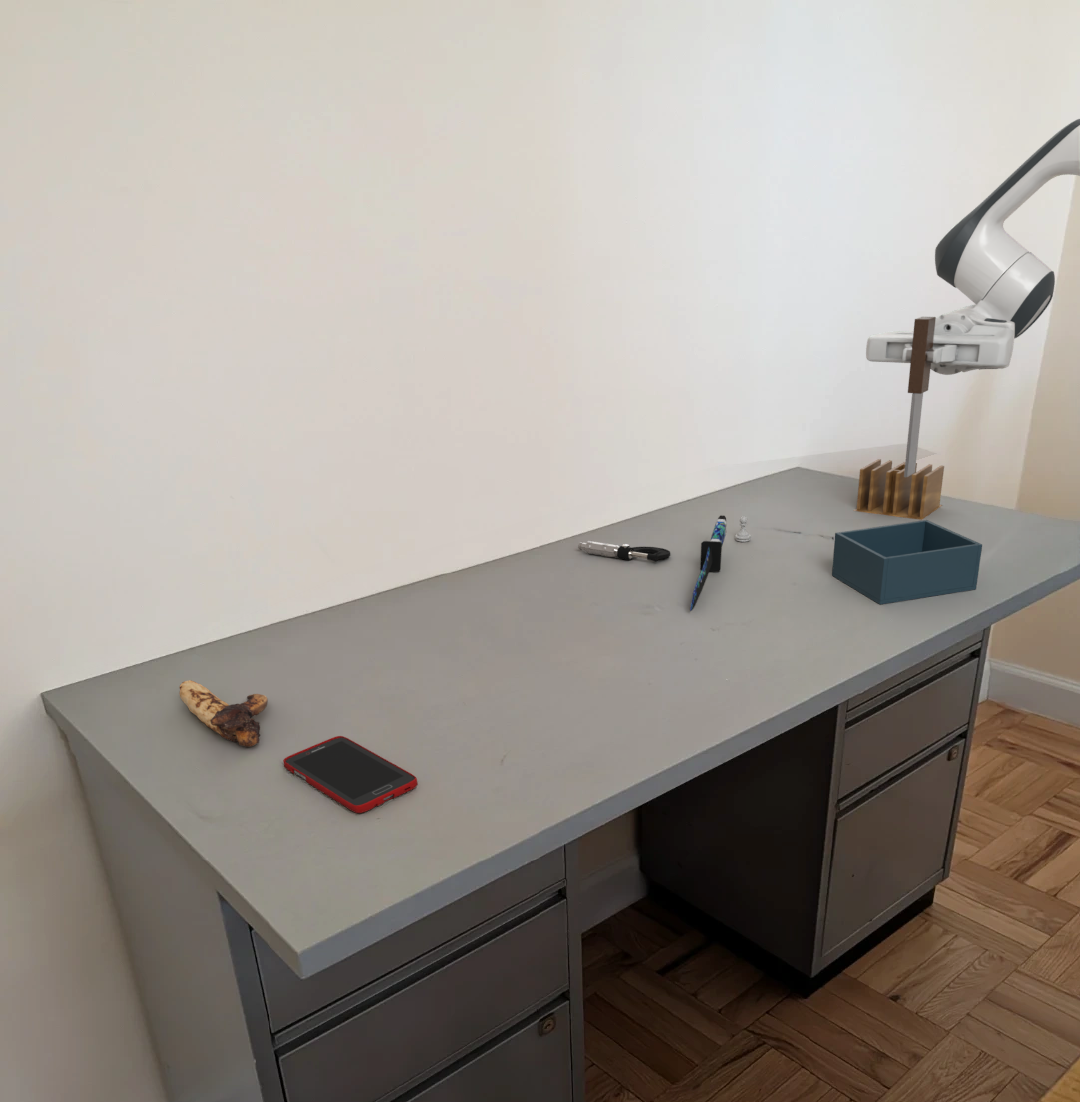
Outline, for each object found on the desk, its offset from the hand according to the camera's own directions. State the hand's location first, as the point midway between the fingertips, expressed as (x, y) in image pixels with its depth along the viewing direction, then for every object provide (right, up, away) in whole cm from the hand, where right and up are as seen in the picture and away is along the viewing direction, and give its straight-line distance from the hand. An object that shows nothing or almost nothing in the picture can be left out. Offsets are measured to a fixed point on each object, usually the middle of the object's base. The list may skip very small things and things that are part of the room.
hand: (919, 356), depth 147 cm
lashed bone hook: (-90, -52, -25) cm, 106 cm away
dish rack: (+9, -16, +34) cm, 38 cm away
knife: (-28, -30, +10) cm, 43 cm away
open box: (-1, -31, +4) cm, 32 cm away
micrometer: (-39, -25, +23) cm, 52 cm away
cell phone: (-73, -57, -38) cm, 101 cm away
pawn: (-20, -22, +26) cm, 39 cm away
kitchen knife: (+2, -15, +8) cm, 17 cm away
